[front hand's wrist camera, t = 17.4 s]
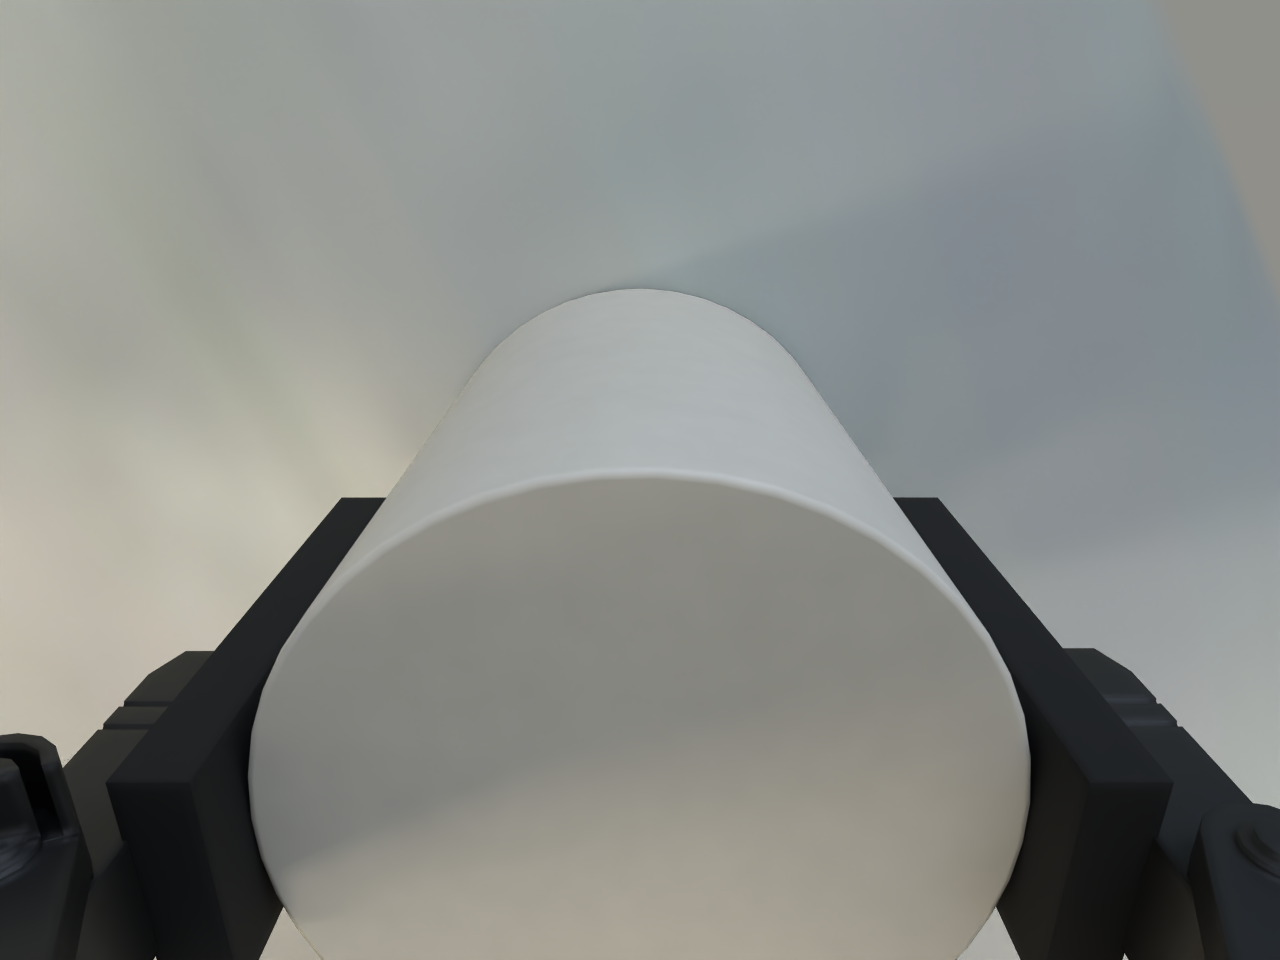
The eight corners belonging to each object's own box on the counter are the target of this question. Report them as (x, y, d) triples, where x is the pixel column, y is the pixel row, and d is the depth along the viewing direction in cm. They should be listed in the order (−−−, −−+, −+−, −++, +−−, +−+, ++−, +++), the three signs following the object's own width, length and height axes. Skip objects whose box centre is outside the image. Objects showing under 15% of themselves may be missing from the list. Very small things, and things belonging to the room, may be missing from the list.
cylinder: (835, 634, 19) (1006, 1070, 10) (479, 662, 19) (341, 1109, 10) (832, 269, 16) (1072, 430, 7) (411, 307, 16) (138, 509, 7)
